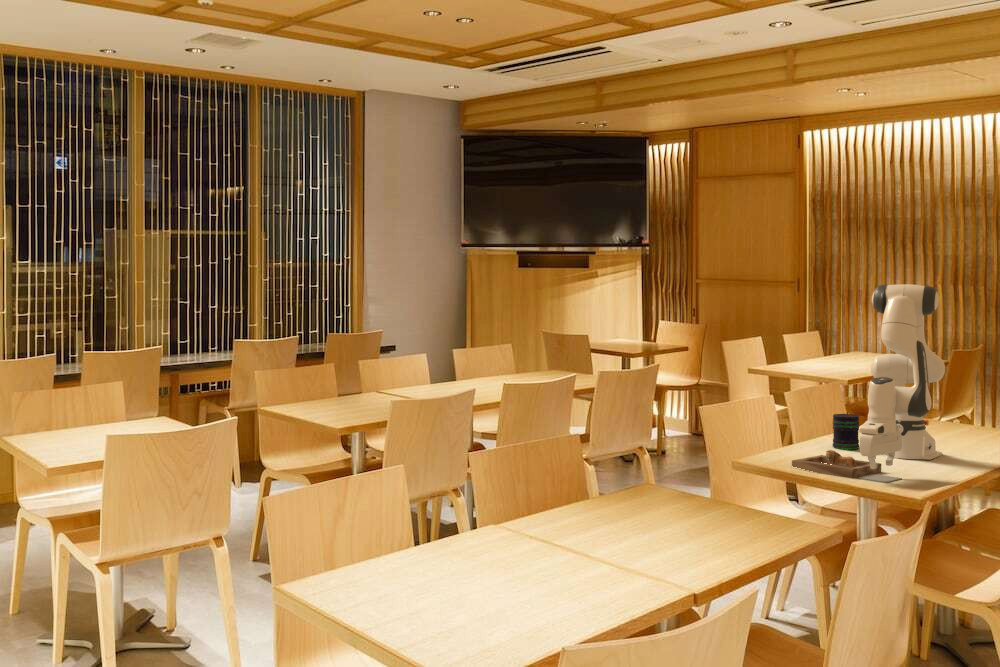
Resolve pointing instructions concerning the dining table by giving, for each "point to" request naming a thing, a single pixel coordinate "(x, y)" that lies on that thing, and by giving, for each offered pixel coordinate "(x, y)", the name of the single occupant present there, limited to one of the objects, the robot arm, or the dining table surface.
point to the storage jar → (846, 431)
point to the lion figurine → (839, 459)
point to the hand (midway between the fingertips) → (881, 467)
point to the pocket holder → (835, 467)
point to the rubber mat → (880, 478)
